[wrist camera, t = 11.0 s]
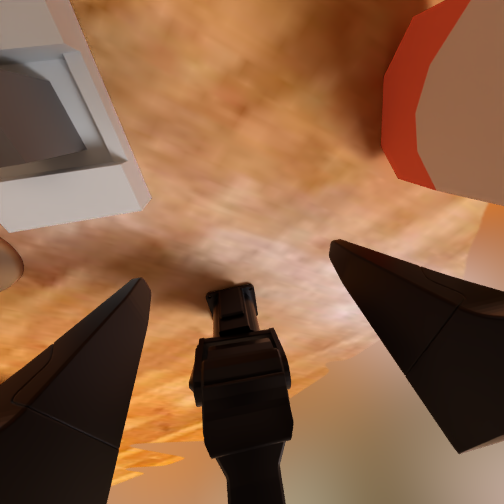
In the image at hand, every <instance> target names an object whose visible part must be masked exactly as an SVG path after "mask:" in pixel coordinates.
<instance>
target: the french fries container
mask: <svg viewBox="0 0 504 504" xmlns="http://www.w3.org/2000/svg"><path fill="white" fill-rule="evenodd" d="M381 147H382V149H383V151H384V153H385V155H386V157H387V159H388V161H389V163H390V164H391V166H392V168H393V170H394V172H395V174H396V176H397V178H398V179H401V180H404V181H407V182H411V183H414V184H417V185H420V186H424V187H427V188H430V189H433V190H436V191H441V192H445V193H450V194H454V195H458V196H463V197H467V198H471V199H476V200H480V201H485V202H489V203H493V204H498V205H502V206H504V0H445V1H443V2H441V3H439V4H437V5H435V6H433V7H431V8H429V9H427V10H425V11H423V12H421V13H420V14H418V15H416V16H414V17H413V18H412V20H411V22H410V24H409V26H408V28H407V31H406V33H405V35H404V37H403V39H402V41H401V43H400V45H399V47H398V49H397V51H396V53H395V55H394V57H393V59H392V61H391V63H390V65H389V67H388V69H387V71H386V73H385V75H384V81H383V106H382V131H381Z"/></svg>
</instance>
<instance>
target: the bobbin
mask: <svg viewBox="0 0 504 504" xmlns="http://www.w3.org/2000/svg"><path fill="white" fill-rule="evenodd" d="M23 271H24V265H23V261H22V259H21V257H20V256H19V254H18V253H17V252H16V250H15V249H14V248H13V247H12V246H11V245H10V244H9V243H7V242H6V241H5V240H3V239H2V238H0V291H3V290H5V289H7V288H9V287H10V286H11V285H12V284H14V283H15V282H16V281H17V280H18V279H20V277H21V276H22V274H23Z"/></svg>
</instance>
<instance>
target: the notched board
mask: <svg viewBox="0 0 504 504" xmlns="http://www.w3.org/2000/svg"><path fill="white" fill-rule="evenodd" d="M0 69H2V70H6V71H10V72H14V73H18V74H22V75H26V76H31V77H35V78H39V79H43V80H47V81H50V83H51V85H52V87H53V88H54V90H55V92H56V94H57V96H58V97H59V99H60V101H61V103H62V105H63V106H64V108H65V110H66V112H67V114H68V116H69V117H70V119H71V121H72V123H73V125H74V126H75V128H76V130H77V132H78V134H79V135H80V137H81V139H82V141H83V143H84V144H85V146H86V148H87V150H82V151H78V152H74V153H69V154H65V155H61V156H56V157H52V158H48V159H43V160H39V161H35V162H30V163H26V164H20V165H14V166H8V167H1V168H0V224H1V225H2V226H3V227H4V228H5V229H6V230H7V231H8V232H9V233H11V232H17V231H23V230H29V229H35V228H41V227H47V226H53V225H59V224H65V223H71V222H77V221H83V220H89V219H95V218H101V217H107V216H113V215H119V214H125V213H131V212H137V211H142V210H143V209H144V208H145V206H146V205H147V204H148V202H149V201H150V200H151V199H152V198H151V195H150V193H149V191H148V188H147V186H146V183H145V181H144V179H143V176H142V174H141V171H140V169H139V167H138V164H137V162H136V159H135V157H134V155H133V152H132V150H131V147H130V145H129V143H128V140H127V138H126V135H125V133H124V131H123V128H122V126H121V123H120V121H119V119H118V116H117V114H116V111H115V109H114V107H113V104H112V102H111V99H110V97H109V95H108V92H107V90H106V87H105V85H104V83H103V80H102V78H101V75H100V73H99V71H98V68H97V66H96V63H95V61H94V59H93V56H92V54H91V51H90V49H89V47H88V44H87V42H86V39H85V37H84V35H83V32H82V30H81V27H80V25H79V23H78V20H77V18H76V15H75V13H74V11H73V8H72V6H71V3H70V1H69V0H0Z"/></svg>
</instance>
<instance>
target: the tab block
mask: <svg viewBox="0 0 504 504" xmlns="http://www.w3.org/2000/svg"><path fill="white" fill-rule="evenodd" d="M82 150H87V148H86V146H85V144H84V143H83V141H82V139H81V137H80V135H79V134H78V132H77V130H76V128H75V126H74V125H73V123H72V121H71V119H70V117H69V116H68V114H67V112H66V110H65V108H64V106H63V105H62V103H61V101H60V99H59V97H58V96H57V94H56V92H55V90H54V88H53V87H52V85H51V83H50V81H47V80H43V79H39V78H35V77H31V76H26V75H22V74H18V73H14V72H10V71H6V70H2V69H0V168H1V167H8V166H14V165H20V164H26V163H30V162H35V161H39V160H43V159H48V158H52V157H56V156H61V155H65V154H69V153H74V152H78V151H82Z"/></svg>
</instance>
